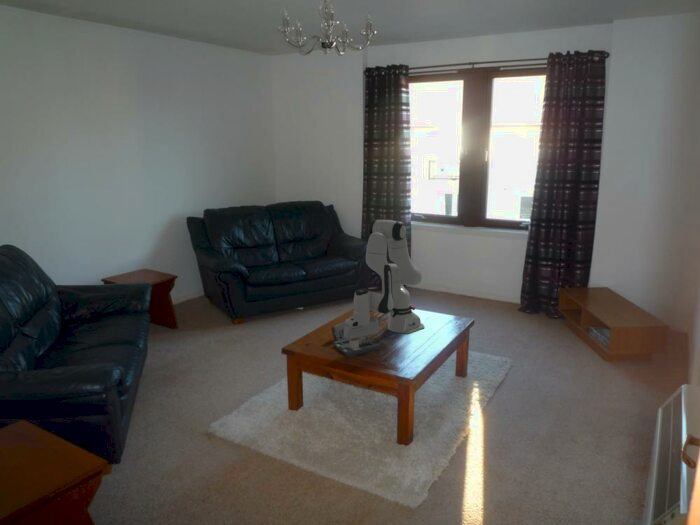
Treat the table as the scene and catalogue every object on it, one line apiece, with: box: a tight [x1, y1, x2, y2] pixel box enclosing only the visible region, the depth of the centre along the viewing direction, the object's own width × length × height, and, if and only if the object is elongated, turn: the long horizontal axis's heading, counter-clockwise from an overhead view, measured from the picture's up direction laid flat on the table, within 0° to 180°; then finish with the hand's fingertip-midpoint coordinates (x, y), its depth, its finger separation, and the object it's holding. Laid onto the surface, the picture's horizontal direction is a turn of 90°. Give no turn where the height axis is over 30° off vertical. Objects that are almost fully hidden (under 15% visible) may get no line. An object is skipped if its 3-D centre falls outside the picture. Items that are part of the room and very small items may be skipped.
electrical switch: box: [330, 321, 346, 342], centre depth 291 cm, size 9×5×9 cm, turn 141°
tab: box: [350, 338, 359, 349], centre depth 273 cm, size 4×3×6 cm
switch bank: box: [333, 336, 382, 357], centre depth 280 cm, size 20×16×3 cm
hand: (361, 343), depth 276 cm, fingers closed
